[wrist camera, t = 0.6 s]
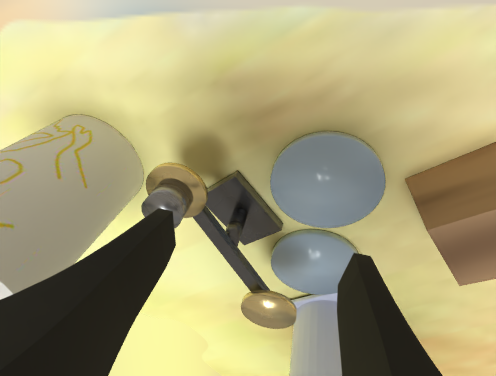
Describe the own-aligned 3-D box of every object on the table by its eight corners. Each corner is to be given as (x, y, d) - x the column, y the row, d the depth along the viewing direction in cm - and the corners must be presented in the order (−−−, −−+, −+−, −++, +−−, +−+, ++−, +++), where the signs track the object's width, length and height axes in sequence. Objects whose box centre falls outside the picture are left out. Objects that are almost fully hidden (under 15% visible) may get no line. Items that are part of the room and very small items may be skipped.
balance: (310, 255, 25) (307, 325, 20) (273, 267, 27) (262, 333, 22) (199, 125, 19) (156, 174, 14) (164, 152, 21) (116, 203, 16)
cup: (129, 118, 20) (-39, 234, 11) (152, 204, 25) (50, 337, 16) (35, 111, 22) (-186, 207, 12) (74, 193, 27) (-63, 309, 17)
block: (518, 201, 18) (574, 262, 14) (432, 227, 20) (459, 285, 16) (495, 141, 16) (551, 192, 12) (404, 178, 19) (426, 230, 15)
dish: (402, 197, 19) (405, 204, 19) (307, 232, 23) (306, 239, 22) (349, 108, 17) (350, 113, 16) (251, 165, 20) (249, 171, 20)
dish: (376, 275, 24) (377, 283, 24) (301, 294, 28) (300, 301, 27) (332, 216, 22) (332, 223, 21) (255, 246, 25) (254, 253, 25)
